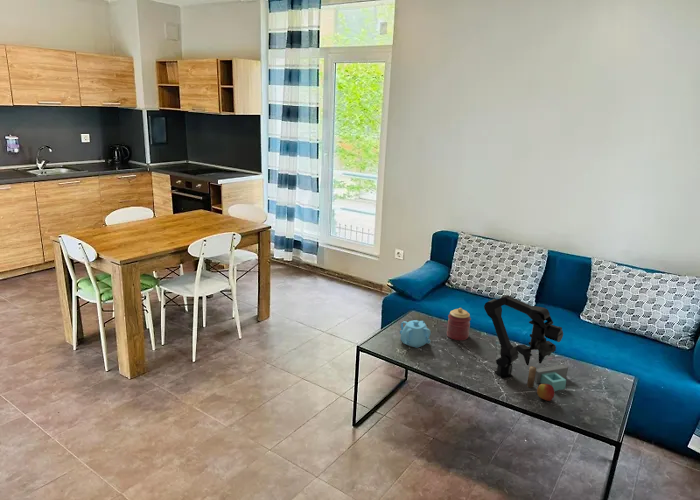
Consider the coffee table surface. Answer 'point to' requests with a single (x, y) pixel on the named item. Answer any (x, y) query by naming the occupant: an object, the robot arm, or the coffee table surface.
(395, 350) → the coffee table surface
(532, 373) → the dowel
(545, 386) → the apple
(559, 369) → the wall
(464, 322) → the canister
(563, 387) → the holed block
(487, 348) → the coffee table surface
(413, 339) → the decorative pot
